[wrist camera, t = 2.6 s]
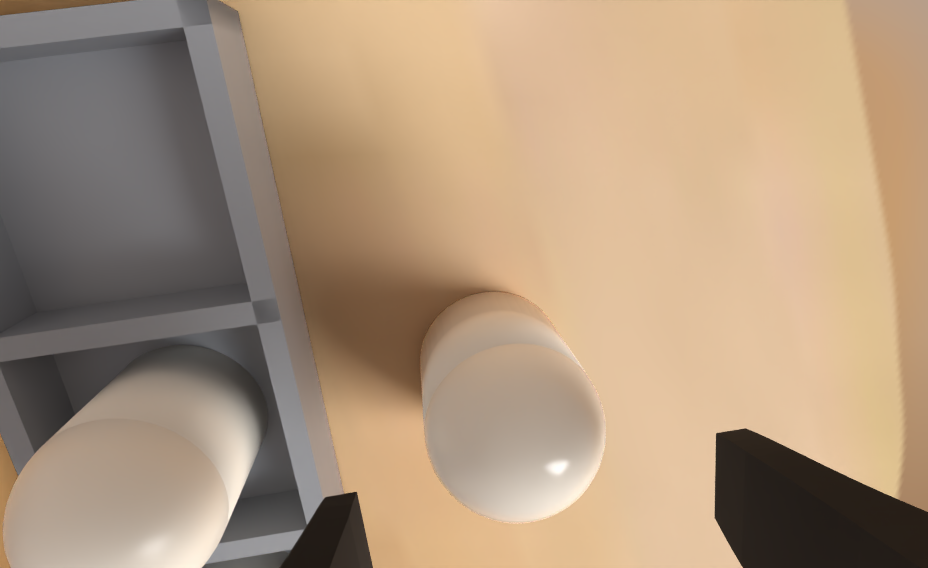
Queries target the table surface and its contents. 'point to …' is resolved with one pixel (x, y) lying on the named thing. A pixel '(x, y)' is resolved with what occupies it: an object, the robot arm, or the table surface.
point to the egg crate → (148, 299)
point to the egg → (508, 410)
